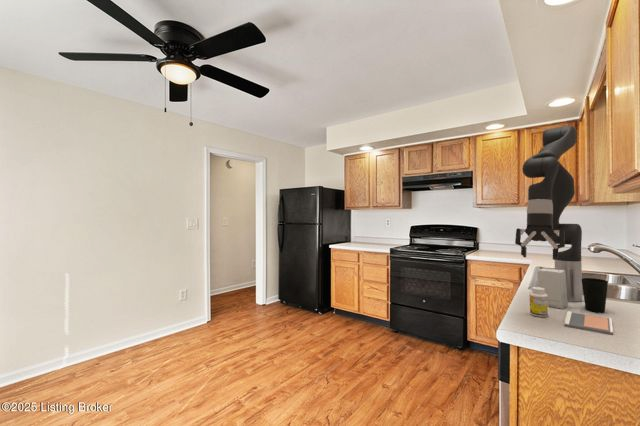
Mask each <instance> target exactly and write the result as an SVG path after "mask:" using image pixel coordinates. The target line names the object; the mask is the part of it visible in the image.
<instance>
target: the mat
mask: <svg viewBox="0 0 640 426" xmlns="http://www.w3.org/2000/svg"><path fill="white" fill-rule="evenodd" d="M563 326H564V327H567V328H570V329H571V328H572V329H578V330H584V331H589V332H593V333H594V332H595V333H598V334H604V335H610V336H613V335H614V328H613V327H614V326H613V322H612V317H602V316H597V315H592V314H591V315H589V314H584V313H577V312H572V311H569V310H568V311H567V313H566V315H565V320H564V325H563Z"/></svg>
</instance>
